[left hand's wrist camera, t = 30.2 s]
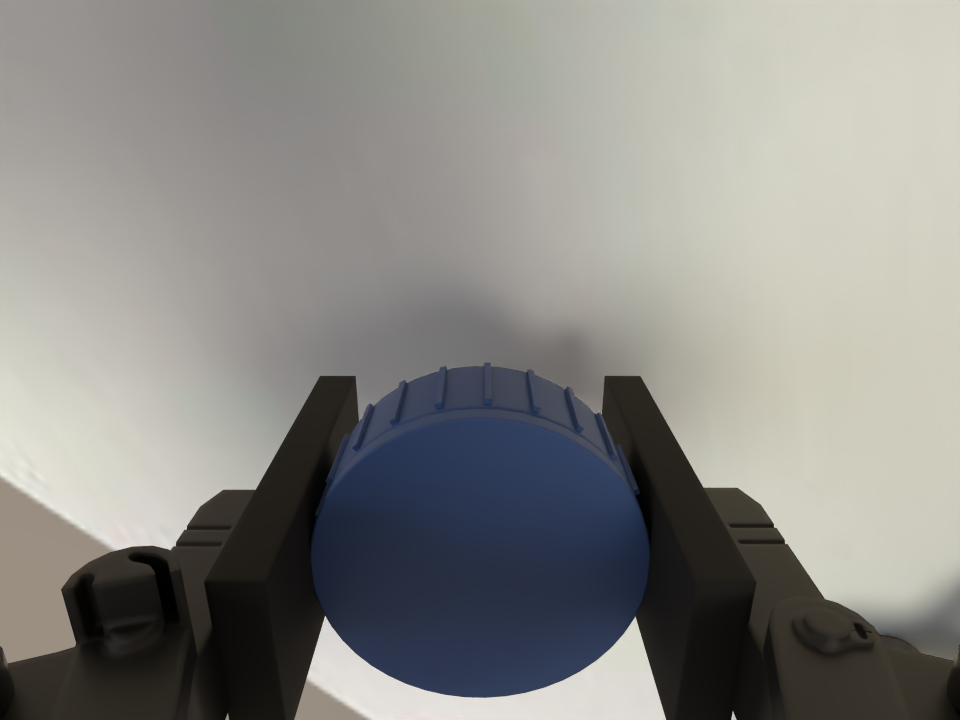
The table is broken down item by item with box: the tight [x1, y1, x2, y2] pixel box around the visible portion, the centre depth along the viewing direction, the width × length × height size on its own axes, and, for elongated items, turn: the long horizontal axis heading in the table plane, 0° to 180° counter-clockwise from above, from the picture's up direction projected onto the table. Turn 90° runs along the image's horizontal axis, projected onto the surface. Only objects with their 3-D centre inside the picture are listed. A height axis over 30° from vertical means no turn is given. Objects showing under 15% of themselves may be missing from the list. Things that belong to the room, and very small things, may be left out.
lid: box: [310, 363, 651, 698], centre depth 12 cm, size 6×6×2 cm
